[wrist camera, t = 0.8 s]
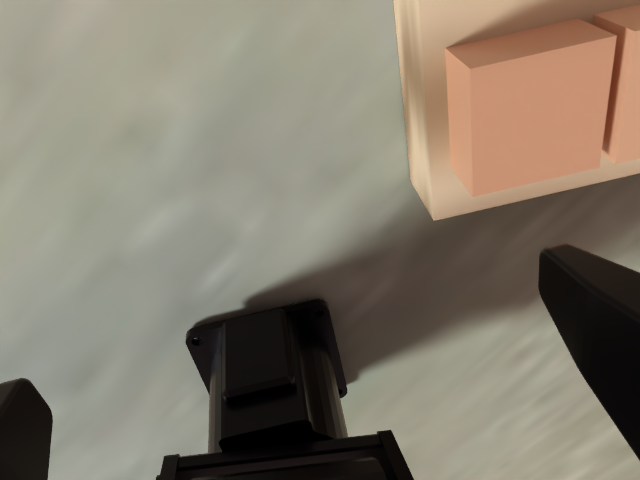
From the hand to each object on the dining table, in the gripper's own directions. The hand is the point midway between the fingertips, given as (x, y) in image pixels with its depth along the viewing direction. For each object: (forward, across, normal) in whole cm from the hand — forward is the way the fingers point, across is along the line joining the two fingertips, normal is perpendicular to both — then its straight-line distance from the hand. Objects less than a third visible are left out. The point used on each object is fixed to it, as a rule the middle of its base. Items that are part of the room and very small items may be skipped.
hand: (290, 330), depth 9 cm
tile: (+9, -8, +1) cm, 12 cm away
